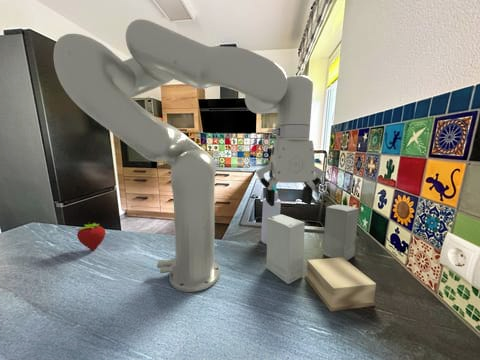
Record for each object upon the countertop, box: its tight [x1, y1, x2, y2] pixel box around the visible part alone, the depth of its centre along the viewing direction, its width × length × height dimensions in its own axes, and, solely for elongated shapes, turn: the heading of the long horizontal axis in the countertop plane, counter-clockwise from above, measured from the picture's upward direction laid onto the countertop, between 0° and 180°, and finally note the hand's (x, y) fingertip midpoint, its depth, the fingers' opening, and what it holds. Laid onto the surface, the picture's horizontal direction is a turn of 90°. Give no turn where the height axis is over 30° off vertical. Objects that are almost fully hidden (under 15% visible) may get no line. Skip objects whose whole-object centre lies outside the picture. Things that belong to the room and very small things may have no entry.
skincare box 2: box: [322, 204, 359, 261], centre depth 58 cm, size 8×7×16 cm
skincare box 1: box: [266, 213, 306, 285], centre depth 49 cm, size 8×6×15 cm
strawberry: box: [76, 222, 107, 251], centre depth 57 cm, size 6×8×10 cm
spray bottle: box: [260, 184, 282, 246], centre depth 65 cm, size 6×6×22 cm
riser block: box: [304, 257, 377, 312], centre depth 44 cm, size 10×10×5 cm
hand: (288, 203), depth 47 cm, fingers open, 9 cm apart
